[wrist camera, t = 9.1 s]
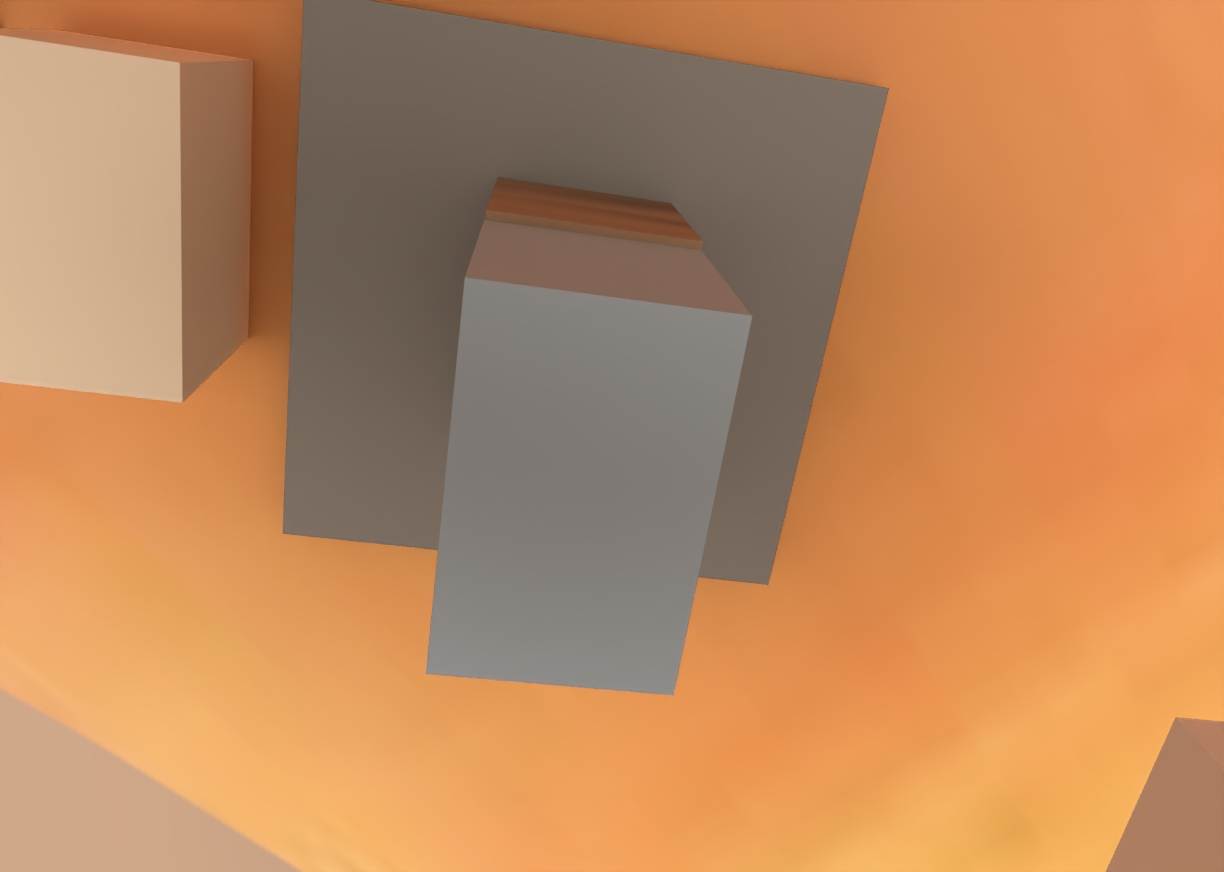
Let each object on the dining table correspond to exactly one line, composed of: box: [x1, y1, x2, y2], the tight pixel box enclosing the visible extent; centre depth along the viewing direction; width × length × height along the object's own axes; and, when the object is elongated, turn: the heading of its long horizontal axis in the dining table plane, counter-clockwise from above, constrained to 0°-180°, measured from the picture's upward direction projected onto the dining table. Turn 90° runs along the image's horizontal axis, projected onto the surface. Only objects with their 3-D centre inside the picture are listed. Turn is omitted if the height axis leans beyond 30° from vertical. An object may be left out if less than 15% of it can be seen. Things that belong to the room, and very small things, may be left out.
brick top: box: [426, 219, 752, 695], centre depth 21 cm, size 8×5×6 cm, turn 171°
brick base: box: [485, 177, 703, 250], centre depth 26 cm, size 8×5×6 cm, turn 171°
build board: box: [283, 0, 889, 585], centre depth 30 cm, size 16×16×1 cm
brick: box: [0, 28, 253, 403], centre depth 25 cm, size 8×5×6 cm, turn 172°
